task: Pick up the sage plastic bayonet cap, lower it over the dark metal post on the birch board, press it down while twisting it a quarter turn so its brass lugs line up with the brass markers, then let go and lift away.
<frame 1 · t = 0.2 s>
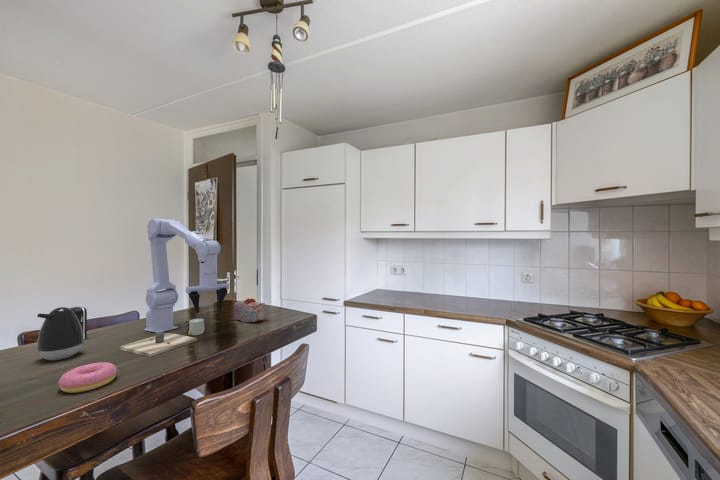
hand: (208, 310, 111), 10 cm above the table, tool pointing down, fingers open, 7 cm apart
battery: (76, 339, 109), on the table
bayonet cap: (196, 333, 115), on the table
doughnut: (89, 385, 75), on the table
post board: (159, 344, 103), on the table
black kettle: (60, 357, 92), on the table
food item: (249, 321, 134), on the table
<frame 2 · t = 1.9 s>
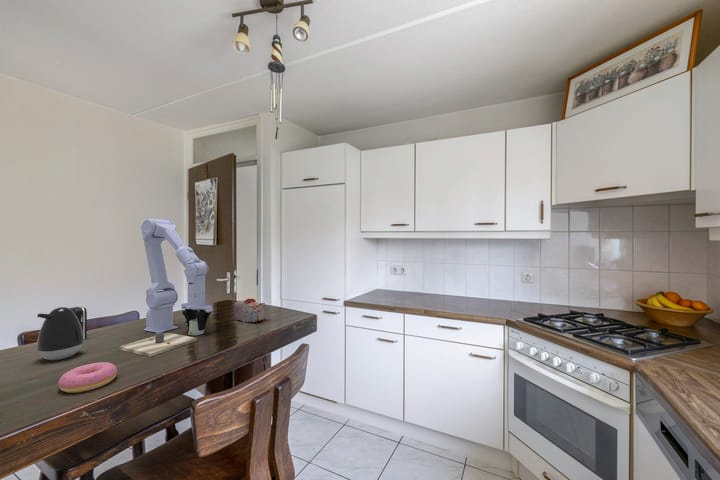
hand: (196, 329, 115), 2 cm above the table, tool pointing down, fingers closed on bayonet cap, 5 cm apart
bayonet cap: (196, 333, 115), on the table, touching gripper
everything else where it was.
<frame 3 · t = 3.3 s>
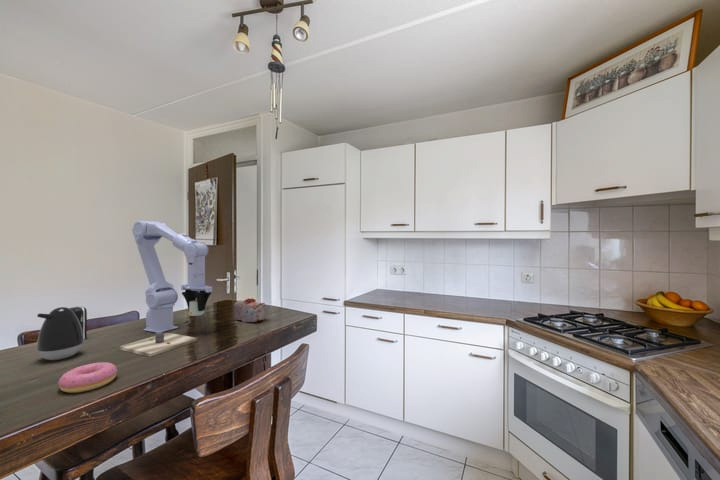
hand: (196, 310, 115), 9 cm above the table, tool pointing down, fingers closed on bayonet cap, 5 cm apart
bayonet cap: (196, 314, 115), point 7 cm above the table, touching gripper
everything else where it was.
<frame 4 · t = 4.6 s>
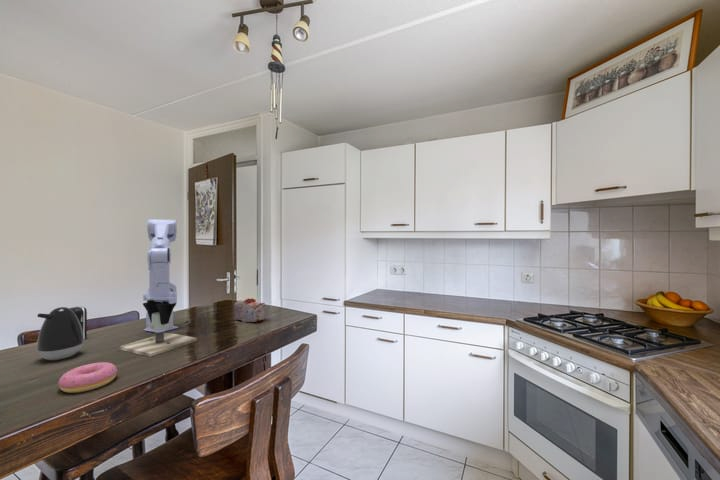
hand: (159, 323, 103), 7 cm above the table, tool pointing down, fingers closed on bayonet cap, 5 cm apart
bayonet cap: (160, 327, 103), point 6 cm above the table, touching gripper
everything else where it was.
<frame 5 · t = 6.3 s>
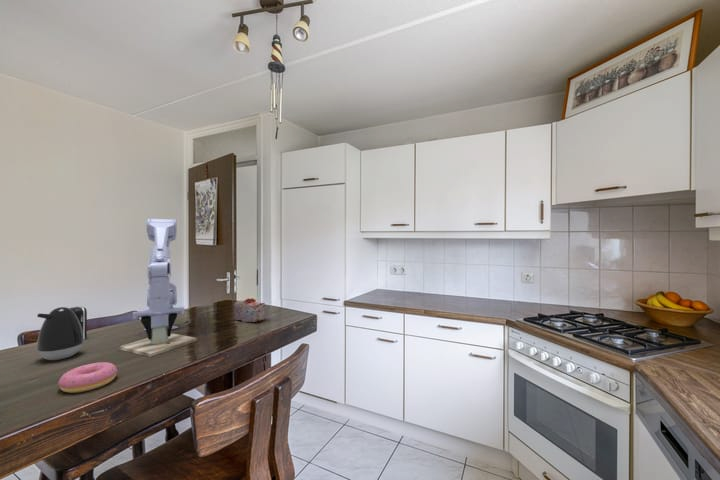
hand: (159, 337, 103), 3 cm above the table, tool pointing down, fingers closed on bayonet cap, 5 cm apart
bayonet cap: (159, 341, 103), point 1 cm above the table, touching gripper
everything else where it was.
when the fingers open (3 cm above the table, at t = 7.7 s): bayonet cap stays where it is, resting on post board.
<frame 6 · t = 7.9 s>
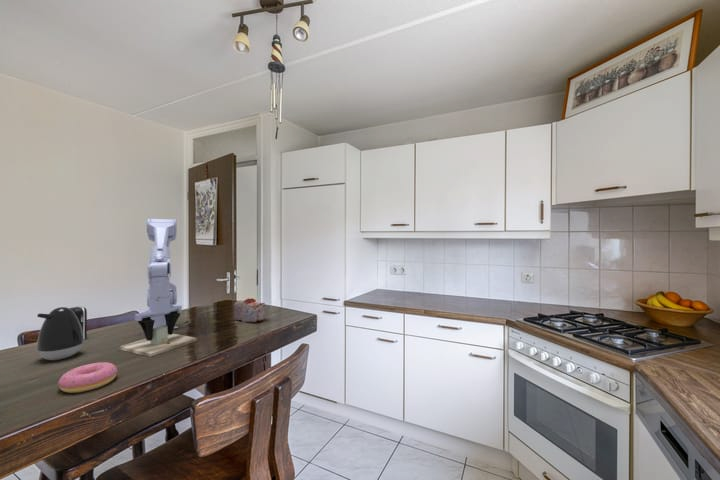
hand: (159, 337, 103), 3 cm above the table, tool pointing down, fingers open, 6 cm apart
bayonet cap: (159, 341, 103), point 1 cm above the table, touching post board
everything else where it was.
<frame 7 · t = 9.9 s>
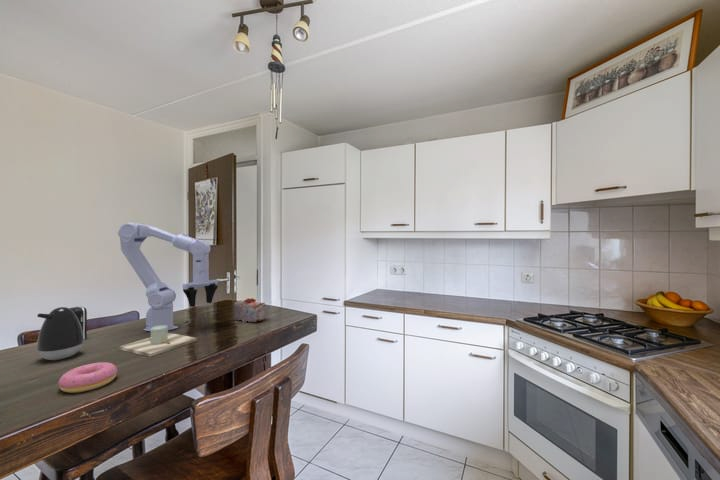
hand: (201, 304, 123), 9 cm above the table, tool pointing down, fingers open, 7 cm apart
nothing on the table moved.
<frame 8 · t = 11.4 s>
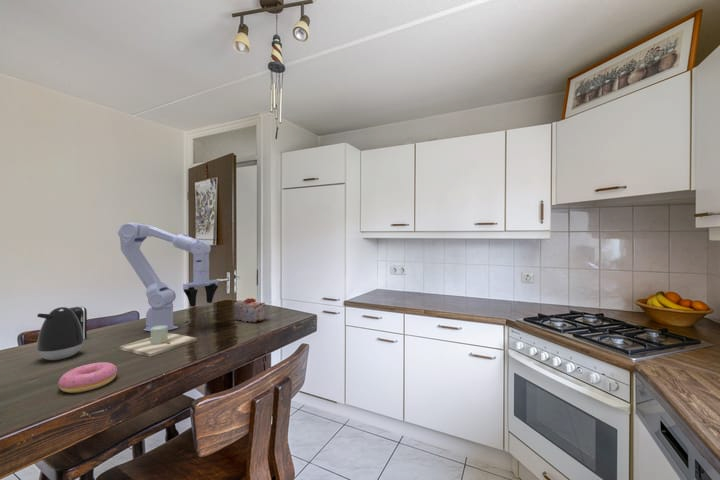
hand: (201, 304, 123), 9 cm above the table, tool pointing down, fingers open, 7 cm apart
nothing on the table moved.
at the end: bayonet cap 0.2 cm off-centre on the post board, point 1.0 cm above the post board's base; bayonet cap tilted 0°; the gripper is holding nothing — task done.
